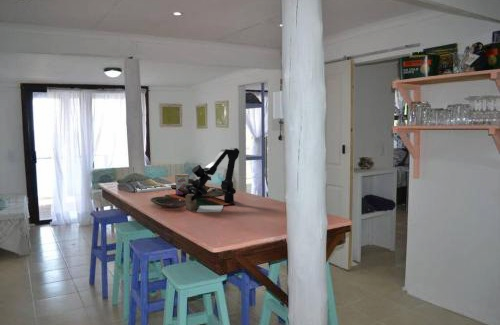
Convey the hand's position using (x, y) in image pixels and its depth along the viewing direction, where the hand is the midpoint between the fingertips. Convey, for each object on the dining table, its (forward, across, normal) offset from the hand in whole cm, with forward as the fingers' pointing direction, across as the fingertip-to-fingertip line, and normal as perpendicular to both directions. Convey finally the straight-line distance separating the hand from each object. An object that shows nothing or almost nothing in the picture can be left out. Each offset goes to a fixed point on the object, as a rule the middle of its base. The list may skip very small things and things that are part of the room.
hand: (189, 199), depth 259 cm
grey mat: (-2, +10, +12) cm, 15 cm away
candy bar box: (-16, -51, +26) cm, 59 cm away
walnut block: (+4, 0, +6) cm, 7 cm away
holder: (-18, -90, +28) cm, 96 cm away
